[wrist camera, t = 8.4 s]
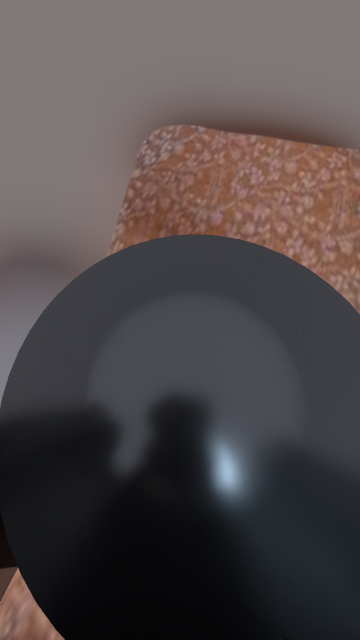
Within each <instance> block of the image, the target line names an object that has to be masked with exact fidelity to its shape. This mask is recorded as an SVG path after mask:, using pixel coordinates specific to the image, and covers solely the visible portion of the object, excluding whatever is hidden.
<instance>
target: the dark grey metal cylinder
mask: <svg viewBox="0 0 360 640" xmlns="http://www.w3.org/2000/svg"><path fill="white" fill-rule="evenodd" d="M0 512H1V516H2V520H3V524H4V528H5V531H6V535H7V539H8V543H9V545H10V548H11V551H12V553H13V556H14V558H15V561H16V563H17V566H18V568H19V571H20V573H21V575H22V577H23V579H24V581H25V583H26V584H27V586H28V588H29V590H30V592H31V594H32V596H33V597H34V599H35V601H36V603H37V604H38V605H39V607H40V608H41V610H42V611H43V612H44V614H45V615H46V617H47V618H48V619H49V621H50V622H51V624H52V625H53V626H54V628H55V629H56V630H57V631H58V632H59V633H60V635H61V636H62V637H63V638H64V639H65V640H360V314H359V313H358V312H357V311H356V310H355V309H354V307H353V306H352V305H351V304H350V303H349V302H348V301H347V300H346V299H345V298H344V297H343V296H342V295H340V294H339V293H338V292H337V291H336V290H335V289H334V288H333V287H332V286H331V285H330V284H328V283H327V282H326V281H324V280H323V279H322V278H320V277H319V276H317V275H316V274H315V273H313V272H312V271H311V270H309V269H308V268H306V267H304V266H303V265H301V264H299V263H297V262H295V261H294V260H292V259H290V258H288V257H287V256H285V255H282V254H280V253H278V252H275V251H273V250H271V249H268V248H266V247H263V246H260V245H257V244H253V243H250V242H247V241H243V240H240V239H234V238H228V237H222V236H213V235H180V236H170V237H164V238H159V239H153V240H149V241H146V242H143V243H140V244H136V245H133V246H130V247H128V248H126V249H123V250H121V251H119V252H116V253H114V254H112V255H110V256H108V257H106V258H105V259H103V260H101V261H100V262H98V263H96V264H94V265H93V266H91V267H90V268H89V269H87V270H86V271H84V272H83V273H82V274H80V275H79V276H78V277H77V278H75V279H74V280H73V281H72V282H71V283H70V284H68V285H67V286H66V287H65V289H63V290H62V291H61V292H60V293H59V294H58V295H57V296H56V297H55V298H54V300H53V301H52V302H51V303H50V304H49V305H48V306H47V308H46V309H45V310H44V311H43V313H42V314H41V316H40V317H39V319H38V320H37V321H36V323H35V324H34V326H33V327H32V329H31V330H30V332H29V334H28V335H27V337H26V339H25V341H24V343H23V345H22V347H21V348H20V350H19V352H18V355H17V357H16V360H15V362H14V364H13V367H12V369H11V372H10V374H9V377H8V381H7V384H6V387H5V391H4V394H3V398H2V402H1V408H0Z"/></svg>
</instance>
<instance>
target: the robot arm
mask: <svg viewBox="0 0 360 640" xmlns="http://www.w3.org/2000/svg"><path fill="white" fill-rule="evenodd" d="M17 569H18V566H17V563H16V561H15V558H14V556H13V553H12V551H11V548H10V545H9V543H8V539H7V535H6V531H5V528H4V524H3V520H2V516H1V512H0V601H1V599H2V597H3V595H4V593H5V591H6V589H7V588H8V586H9V584H10V582H11V580H12V578H13V576H14V574H15V572H16V570H17Z"/></svg>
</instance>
